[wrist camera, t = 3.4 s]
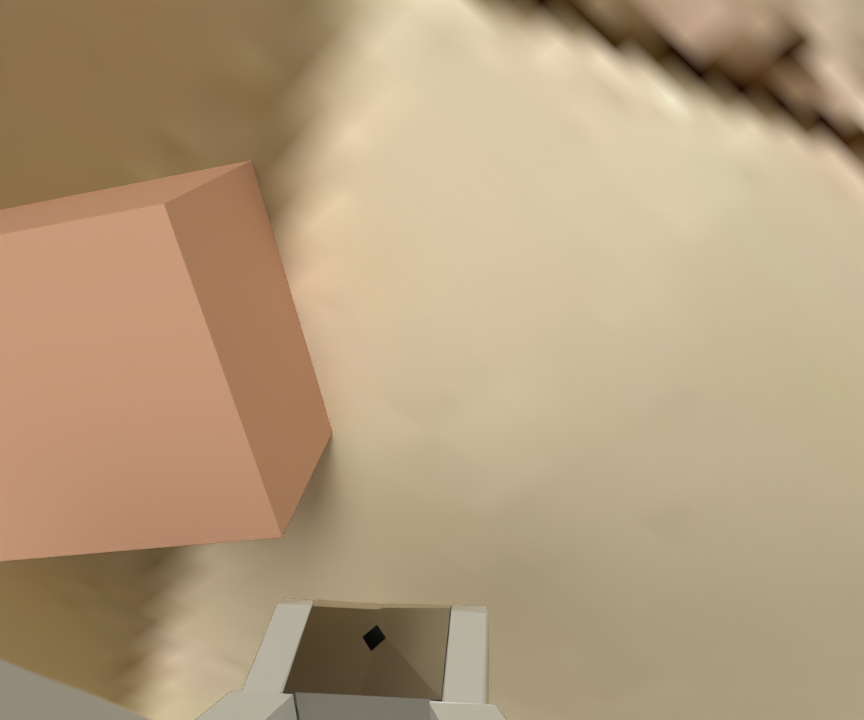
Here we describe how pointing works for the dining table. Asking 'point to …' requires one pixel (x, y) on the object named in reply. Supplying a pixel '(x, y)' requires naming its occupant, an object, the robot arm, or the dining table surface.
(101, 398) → the terracotta block
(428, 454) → the dining table surface
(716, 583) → the dining table surface
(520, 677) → the dining table surface
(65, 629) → the dining table surface
